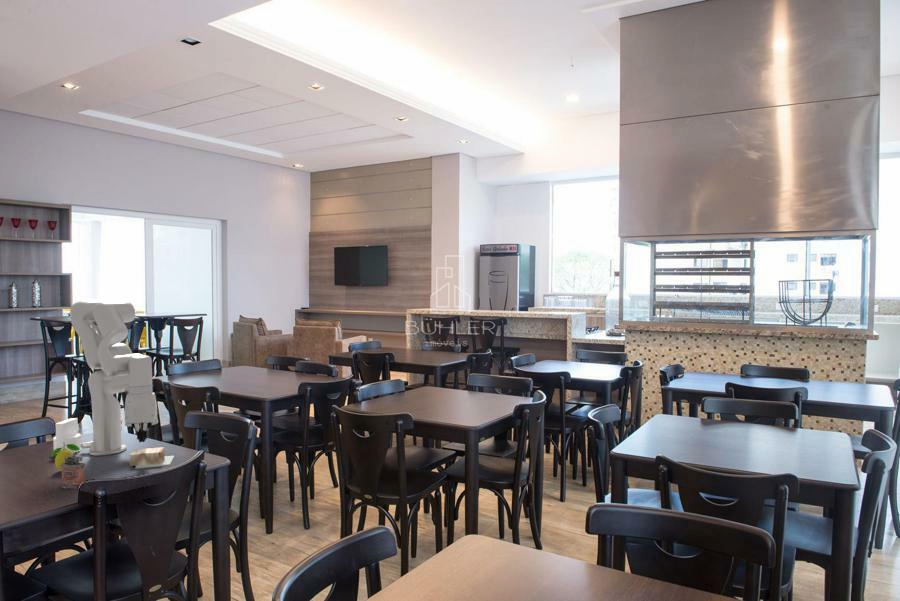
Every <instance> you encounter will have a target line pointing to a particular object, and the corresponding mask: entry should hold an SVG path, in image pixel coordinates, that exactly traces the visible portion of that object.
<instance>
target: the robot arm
mask: <svg viewBox="0 0 900 601" xmlns="http://www.w3.org/2000/svg"><path fill="white" fill-rule="evenodd" d="M69 317H70V318H69V319H70V322H71V325H72V327H73V329H74V331H75V332H76V334H77V335H78V337H79V339H80V341H81V342H80V344H81V346H82V349H83V354H84V357H85V360H86V363H87V365H88V367H89V368H90V369H92V370H96V371H94V372H92V373H91V374H90V375H89V377H88V380H87V381H88V382H87V383H88V389H89V393H90V397H91V413H92V414H91V415H92V416H91V417H92V418H91V420H92V440H91V441H87V442H86V441H85V442H81V449H88V454H89V455H90V456H97V457H98V456H99V457H100V456H109V455H114V454H119V453H121V452H124V451H126V450H127V445H126V444H122V441H123V440H122V414H121V413H122V412H121V411H122V410H121V402H119V400H118V399H117V398H116V397H115V394H121V393H127V395H125V396H126V397H125V402H124V426H125V427H131V428H133V429H134V430H135V432H136V439H137V440H138V443H141V442H142V443H145V441H146V440H147V439H148V429H149V428H150V427H151V426H154V425H157V424H158V423H159V419H158V415H159V413H158V411H159V410H158V404H157V398H156V397H157V396H156V394H155V392H153V366H152V365H153V362H152V357H151V356H149V355H145V354H142V353H137V352H136V353H133V352H132V349H131V348H130V346H129V345H128V344H126V343H124V342H123V341H124V340H125V339H126V338H127V337H128V336H129V335H128V334H129V330H128V328H127V325H126V323H130V322H133V321H134V320H135V318H136V309H135V307H134V305H133V304H132V303H131V301H128V300H120V299H89V300H87V299H86V300H80V301H77V302H74V303H73V304H72V305H71V307H70V310H69ZM93 322H95V323H96V324H94V323H93ZM141 424H143V428H142V427H141V426H142V425H141Z"/></svg>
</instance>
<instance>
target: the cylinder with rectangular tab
mask: <svg viewBox="0 0 900 601" xmlns="http://www.w3.org/2000/svg"><path fill="white" fill-rule="evenodd" d="M78 422H79V421H78V417H73V418H68V419H65V420H62V421H60V422H57V423H55V436H53V439H52V440H53V441H52V442H53V451H54V450H55V449H57V448H62V447H63V448H62V449H64V446H65V449H67V450H70V449H68V448H67V446H66V445H68V444H74V445H76V446H78V447H79V449H80V450H77V451H75V450H70V451H71V452H72V453H73V454H76V453H75V452H77V453H79V452H81V451H82V448H81V443H82V434H81V433H79V429H78V428H79V427H78V426H79V424H78ZM63 442H64V444H65V445H64V444H63ZM62 449H61V450H62ZM61 450H60V451H61ZM78 451H79V452H78Z"/></svg>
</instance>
